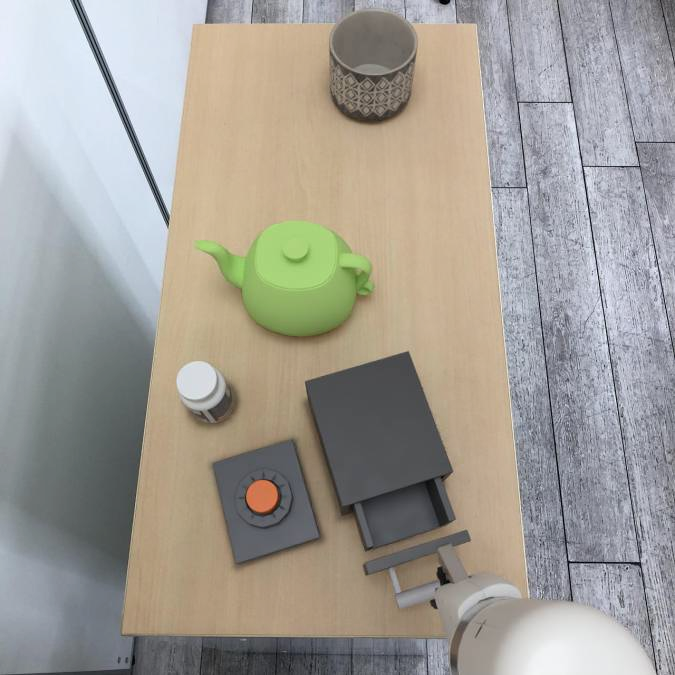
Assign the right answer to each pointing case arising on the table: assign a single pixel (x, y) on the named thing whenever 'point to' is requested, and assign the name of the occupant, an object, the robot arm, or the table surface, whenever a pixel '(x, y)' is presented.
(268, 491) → the button
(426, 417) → the drawer cabinet casing
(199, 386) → the pill bottle
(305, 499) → the control pad
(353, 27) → the planter
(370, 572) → the drawer with pull handle
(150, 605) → the table surface
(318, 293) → the teapot
